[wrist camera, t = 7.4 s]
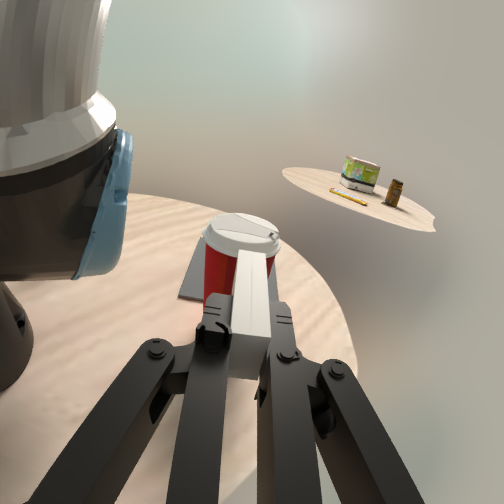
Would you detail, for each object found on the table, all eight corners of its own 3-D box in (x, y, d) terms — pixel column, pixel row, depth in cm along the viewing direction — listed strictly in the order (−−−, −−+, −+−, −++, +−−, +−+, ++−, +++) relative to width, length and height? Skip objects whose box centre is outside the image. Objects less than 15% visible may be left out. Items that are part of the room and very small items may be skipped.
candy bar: (327, 192, 110) (328, 187, 109) (331, 191, 113) (332, 187, 112) (364, 207, 101) (365, 203, 100) (367, 206, 104) (368, 201, 103)
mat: (279, 312, 38) (279, 310, 38) (178, 296, 37) (178, 294, 37) (272, 251, 54) (272, 249, 54) (200, 239, 53) (200, 237, 53)
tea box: (346, 188, 124) (354, 158, 117) (338, 182, 132) (346, 154, 125) (372, 194, 126) (381, 166, 119) (363, 188, 135) (371, 161, 128)
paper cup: (264, 323, 36) (291, 224, 29) (244, 364, 29) (272, 254, 23) (209, 303, 38) (223, 205, 31) (182, 338, 31) (187, 228, 24)
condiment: (398, 207, 116) (405, 183, 110) (395, 209, 110) (403, 184, 104) (384, 201, 119) (391, 177, 114) (380, 203, 113) (388, 178, 108)
